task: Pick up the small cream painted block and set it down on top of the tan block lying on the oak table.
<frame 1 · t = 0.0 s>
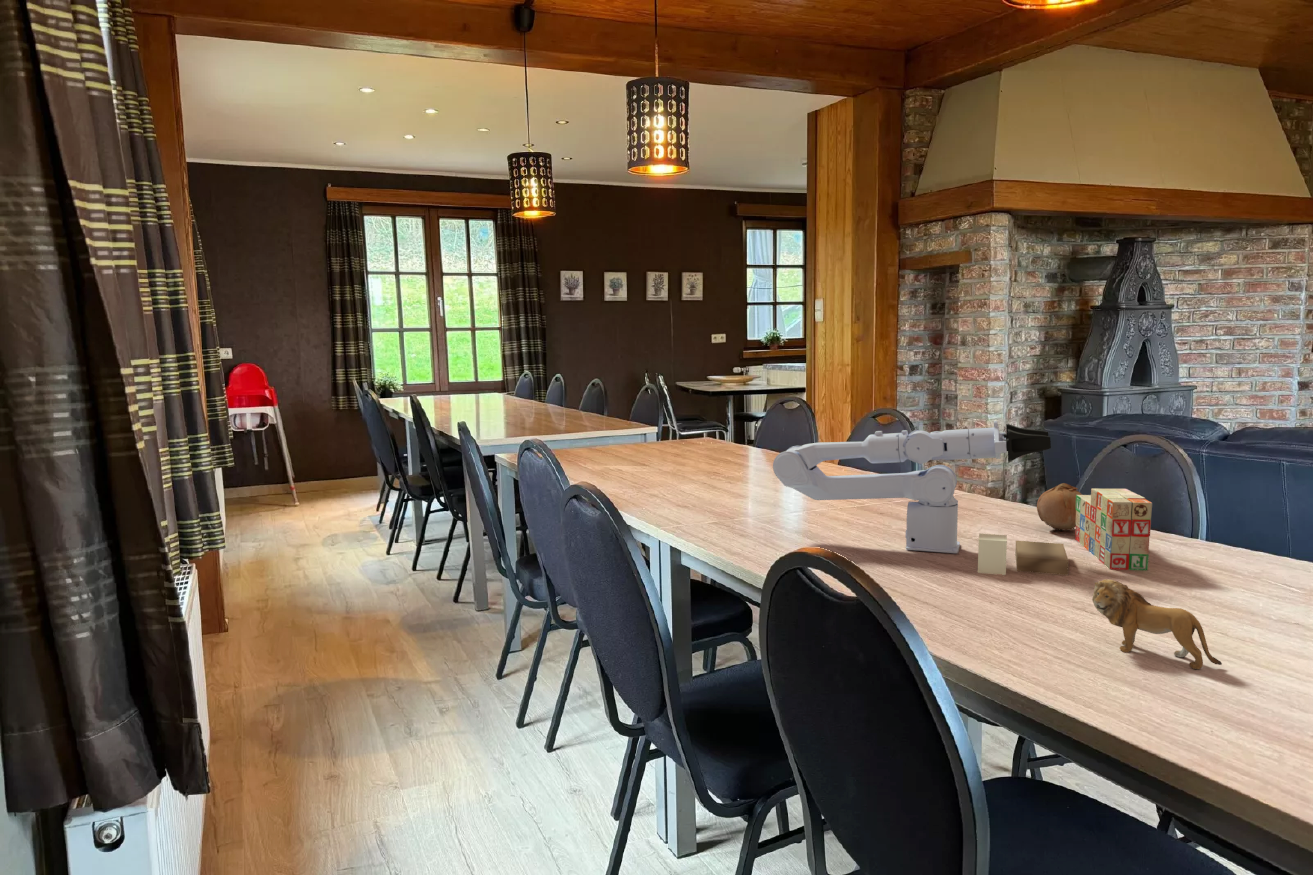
hand: (1049, 439, 151), 22 cm above the table, tool horizontal, fingers open, 7 cm apart
tan block: (1040, 566, 149), on the table
lion figurine: (1148, 656, 107), on the table
stack of blocks: (1108, 555, 155), on the table
cream block: (991, 570, 146), on the table
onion: (1061, 531, 173), on the table
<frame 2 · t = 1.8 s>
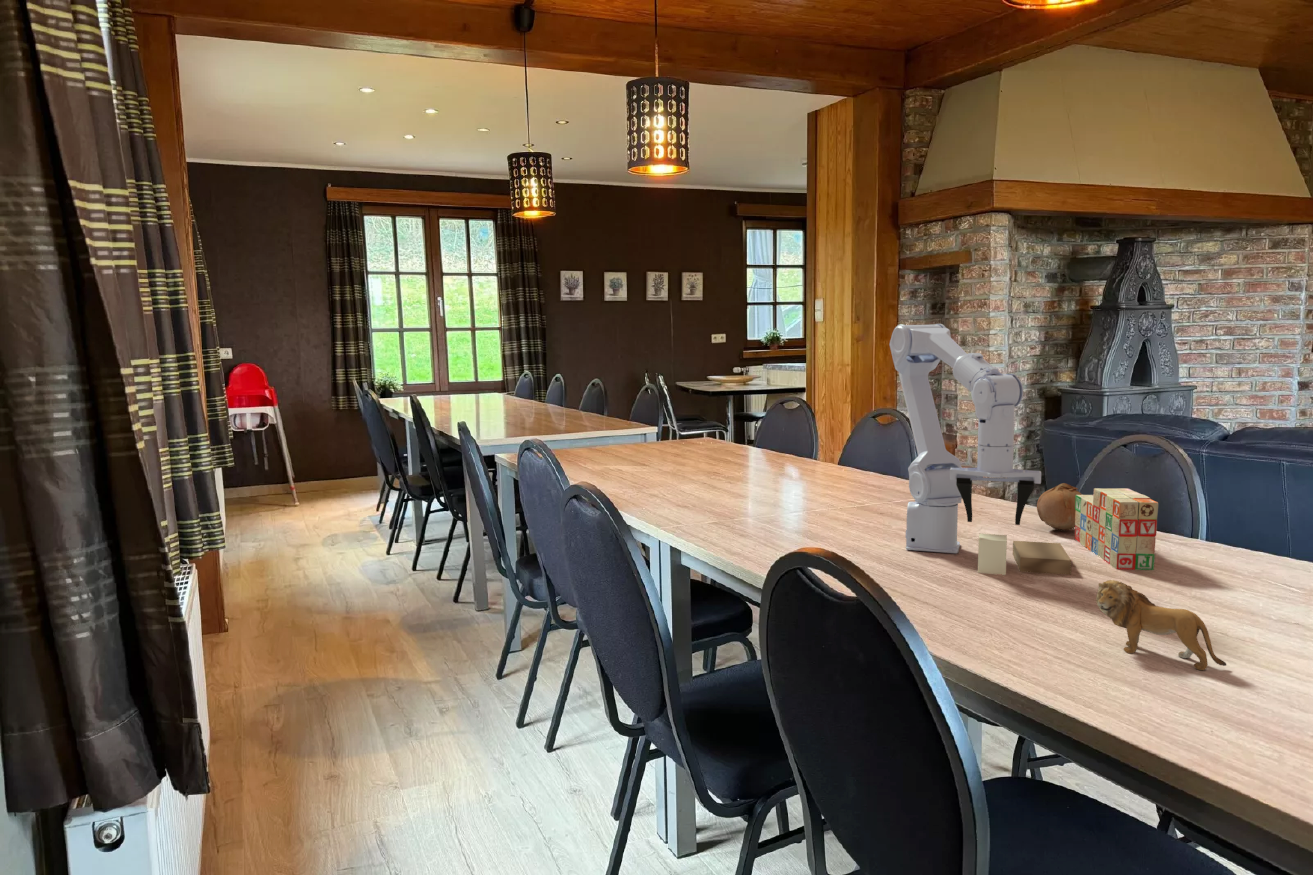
hand: (993, 522, 145), 9 cm above the table, tool pointing down, fingers open, 7 cm apart
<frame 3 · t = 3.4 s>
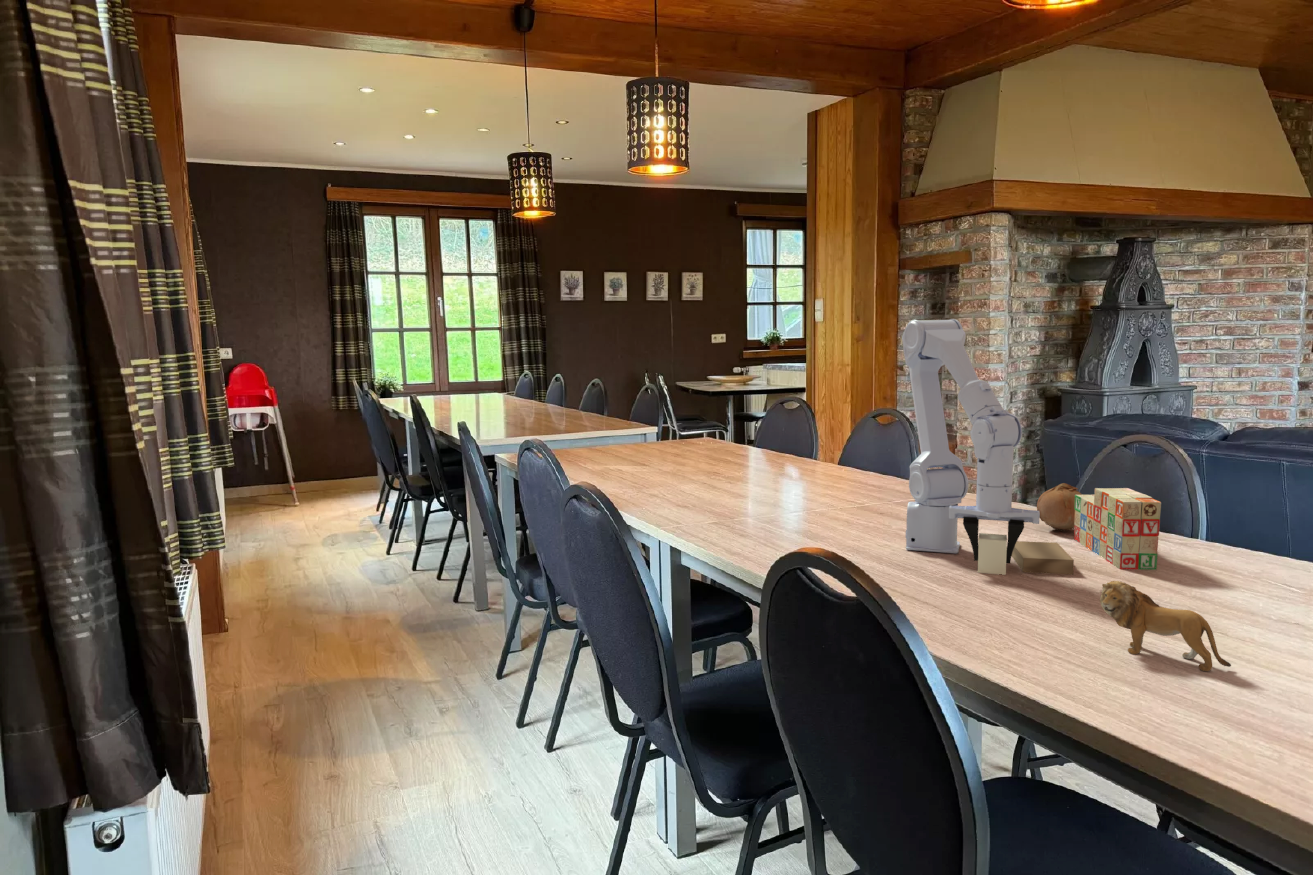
hand: (992, 560, 145), 2 cm above the table, tool pointing down, fingers closed on cream block, 4 cm apart
cream block: (991, 570, 146), on the table, touching gripper
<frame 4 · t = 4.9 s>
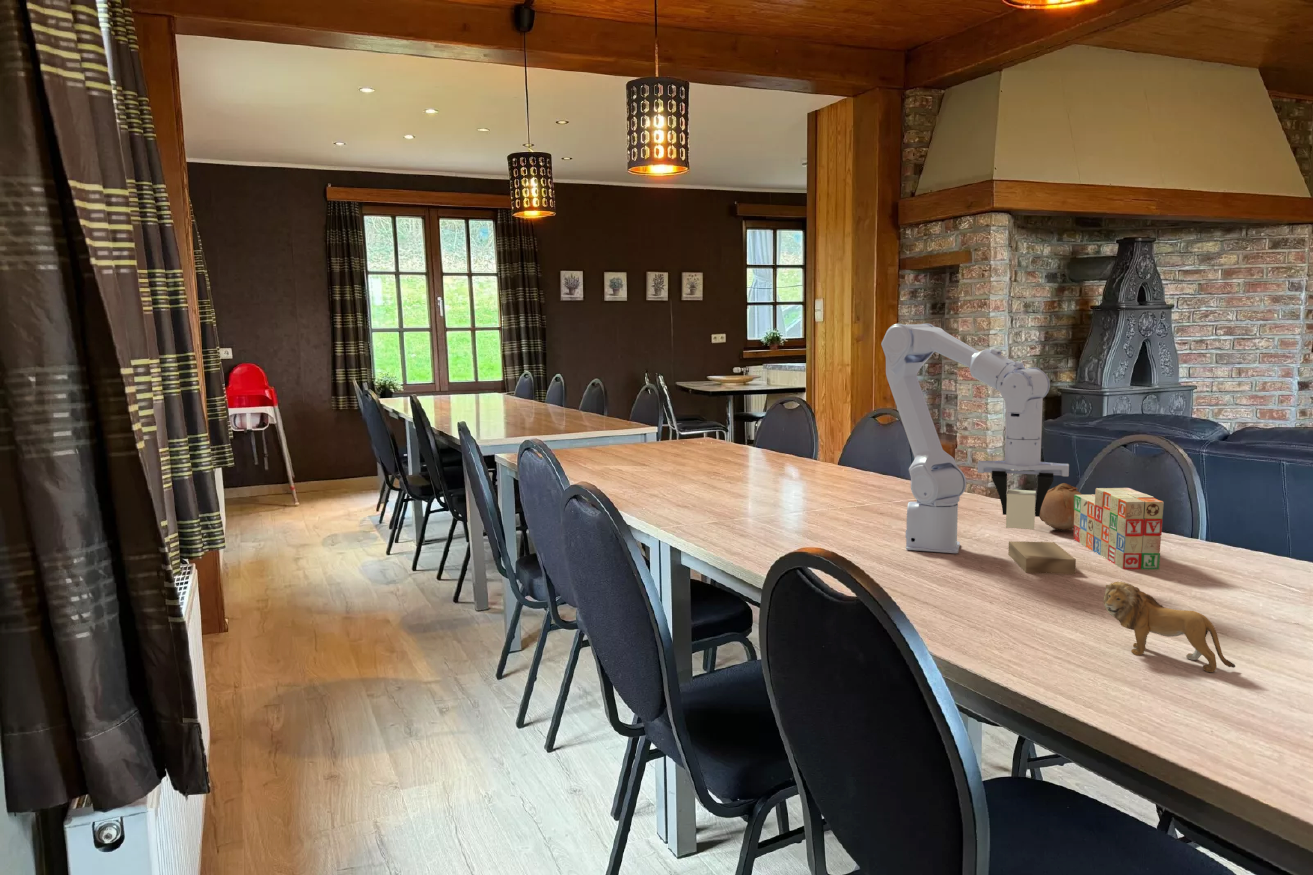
hand: (1020, 514, 146), 9 cm above the table, tool pointing down, fingers closed on cream block, 4 cm apart
cream block: (1020, 525, 146), point 7 cm above the table, touching gripper
when the fingers open (6 cm above the table, at t = 6.7 s): cream block drops 1 cm, point 2 cm above the table.
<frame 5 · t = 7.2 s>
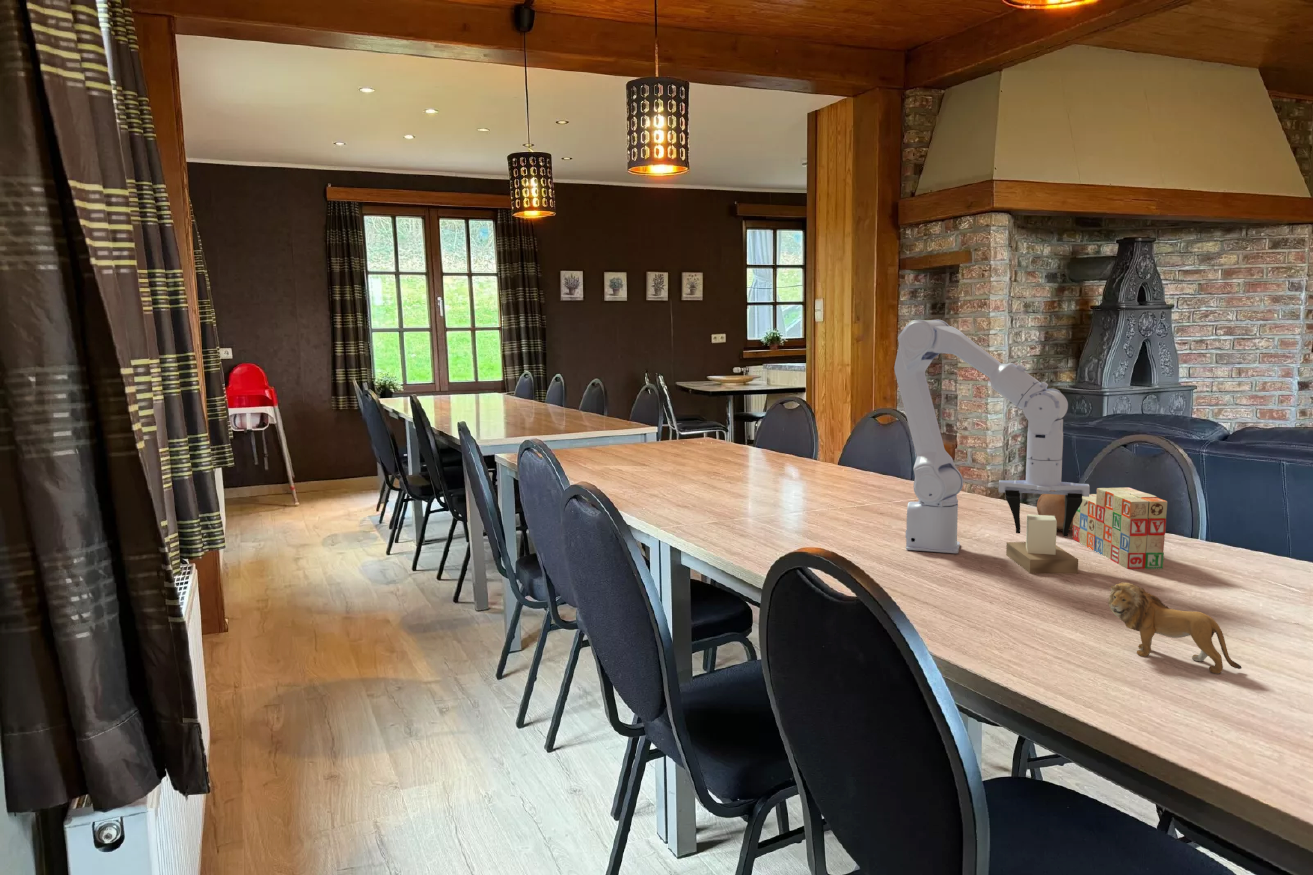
hand: (1041, 533, 148), 6 cm above the table, tool pointing down, fingers open, 7 cm apart
cream block: (1040, 550, 149), point 2 cm above the table
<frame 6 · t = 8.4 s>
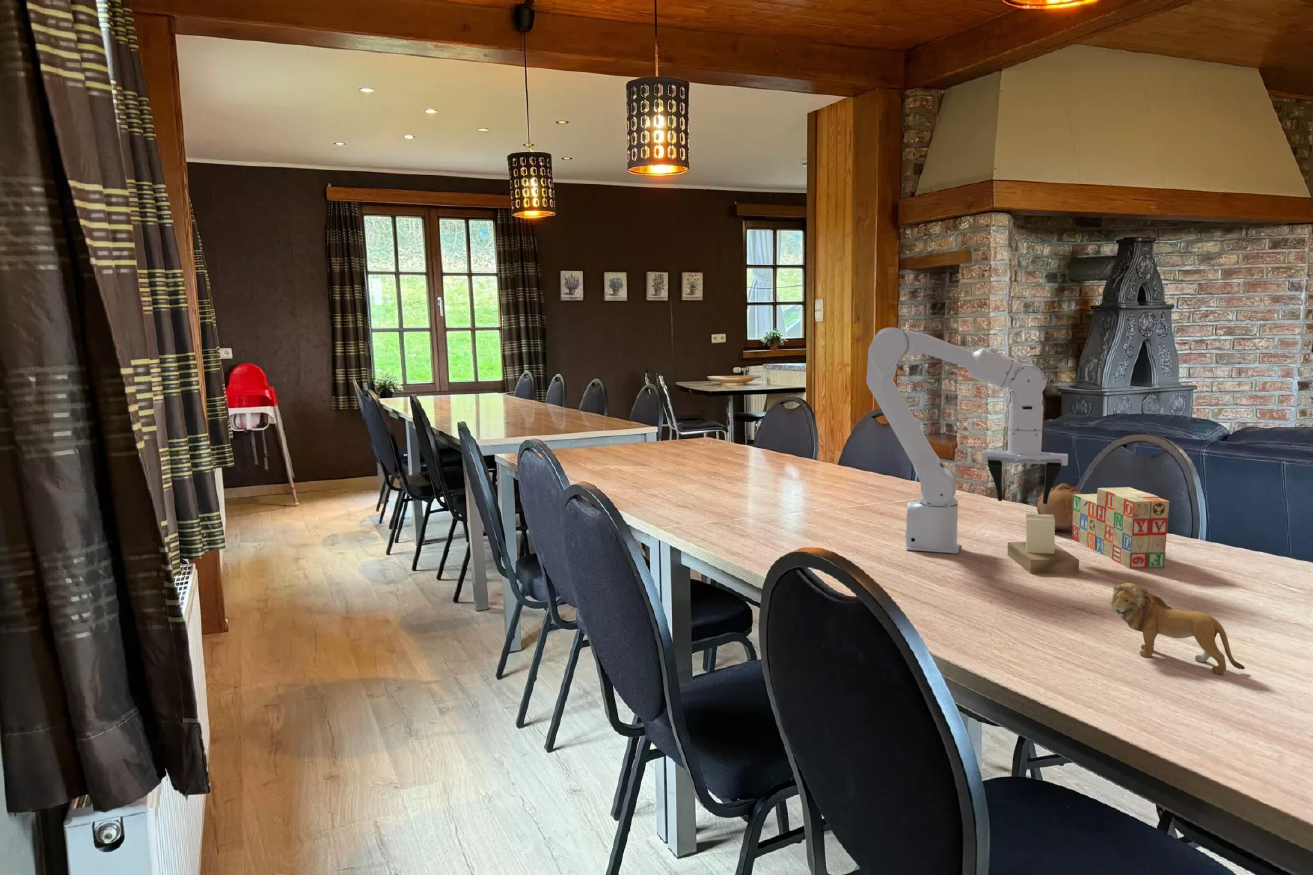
hand: (1022, 501, 155), 10 cm above the table, tool pointing down, fingers open, 7 cm apart
tan block: (1041, 566, 149), on the table, touching cream block
cream block: (1040, 549, 149), point 2 cm above the table, touching tan block
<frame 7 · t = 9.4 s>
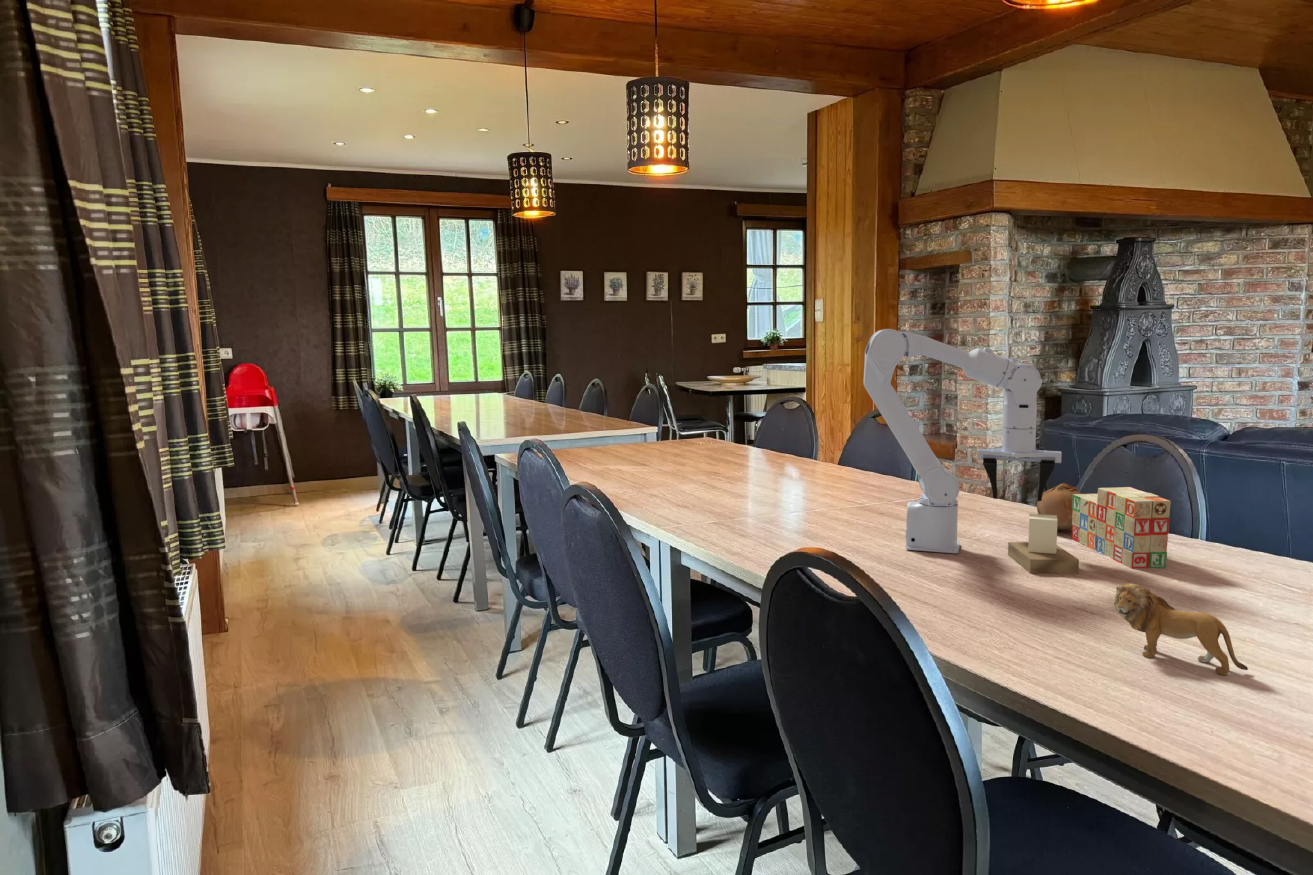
hand: (1017, 498, 158), 10 cm above the table, tool pointing down, fingers open, 7 cm apart
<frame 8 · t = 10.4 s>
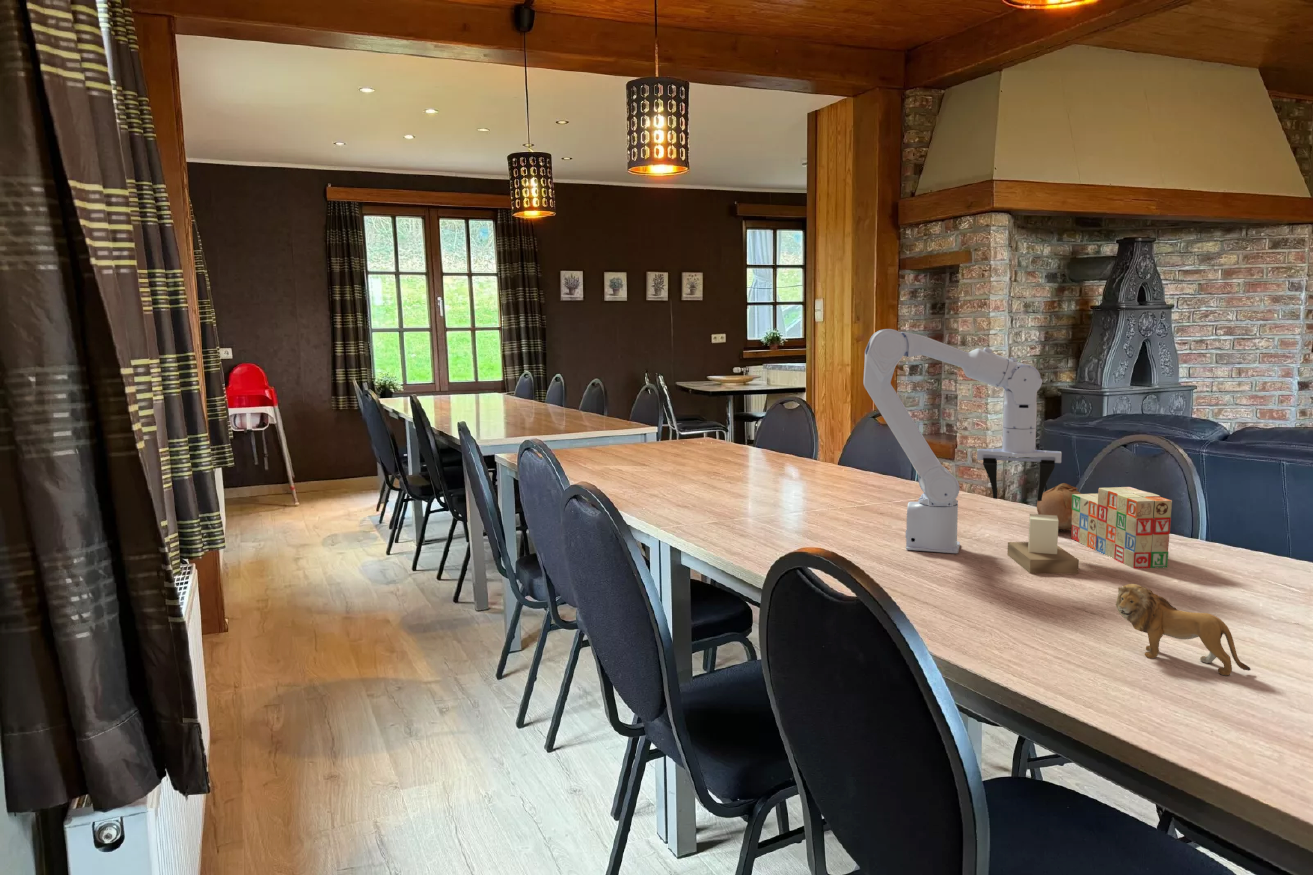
hand: (1017, 498, 158), 10 cm above the table, tool pointing down, fingers open, 7 cm apart
tan block: (1041, 566, 149), on the table
cream block: (1042, 550, 149), point 2 cm above the table
at the end: cream block inside the target area on the tan block (0.2 cm from its centre), point 3.1 cm above the tan block's base; cream block tilted 1°; the gripper is holding nothing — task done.
